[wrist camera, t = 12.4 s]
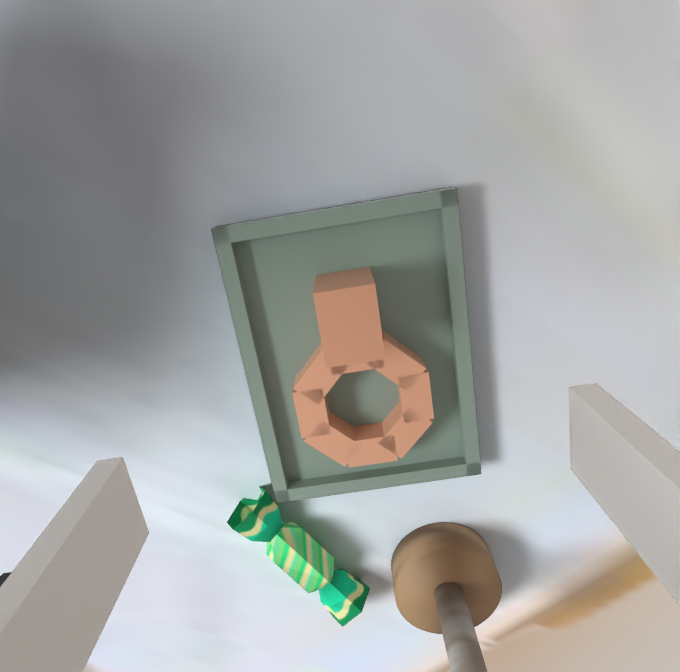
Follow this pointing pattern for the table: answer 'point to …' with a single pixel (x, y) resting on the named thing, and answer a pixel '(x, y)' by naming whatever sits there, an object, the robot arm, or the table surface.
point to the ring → (351, 356)
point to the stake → (447, 587)
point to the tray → (396, 320)
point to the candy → (300, 556)
